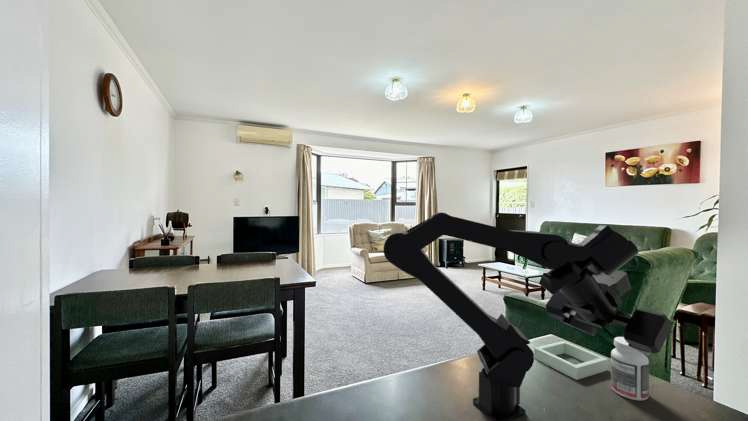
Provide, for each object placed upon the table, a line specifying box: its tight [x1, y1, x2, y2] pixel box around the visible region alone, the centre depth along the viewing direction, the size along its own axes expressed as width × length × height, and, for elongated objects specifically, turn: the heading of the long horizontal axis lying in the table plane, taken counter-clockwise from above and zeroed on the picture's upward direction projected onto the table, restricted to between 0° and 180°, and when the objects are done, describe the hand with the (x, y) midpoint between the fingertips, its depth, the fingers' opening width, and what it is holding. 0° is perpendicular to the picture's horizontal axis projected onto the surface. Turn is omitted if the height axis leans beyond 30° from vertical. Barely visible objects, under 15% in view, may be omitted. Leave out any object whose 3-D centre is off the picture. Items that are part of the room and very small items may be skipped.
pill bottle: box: [610, 336, 650, 401], centre depth 61 cm, size 6×6×10 cm
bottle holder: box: [533, 340, 609, 381], centre depth 72 cm, size 10×10×2 cm
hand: (620, 342), depth 59 cm, fingers open, 9 cm apart
